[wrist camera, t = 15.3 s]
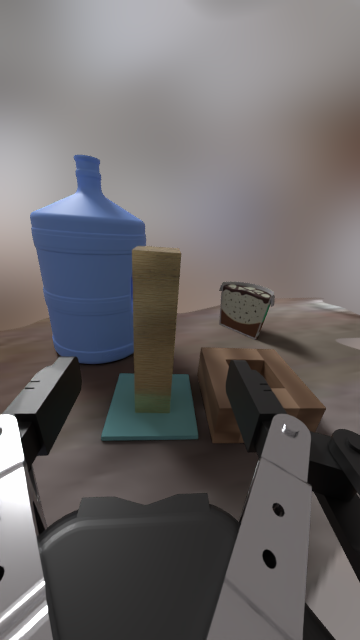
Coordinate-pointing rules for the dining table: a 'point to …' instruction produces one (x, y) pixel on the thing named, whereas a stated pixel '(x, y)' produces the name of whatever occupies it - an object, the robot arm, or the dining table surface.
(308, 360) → the dining table surface
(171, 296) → the tan wooden peg
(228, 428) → the socket block
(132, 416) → the teal mat
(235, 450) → the dining table surface
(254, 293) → the food container
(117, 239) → the water jug
